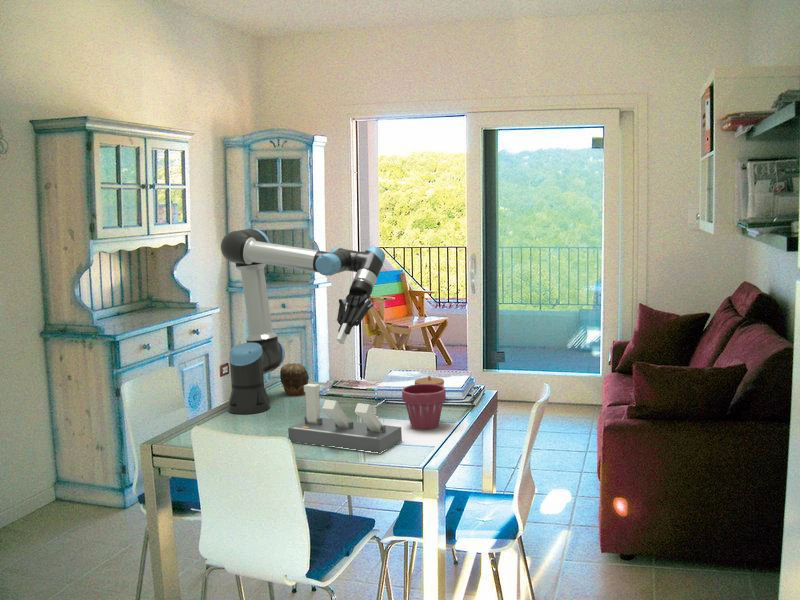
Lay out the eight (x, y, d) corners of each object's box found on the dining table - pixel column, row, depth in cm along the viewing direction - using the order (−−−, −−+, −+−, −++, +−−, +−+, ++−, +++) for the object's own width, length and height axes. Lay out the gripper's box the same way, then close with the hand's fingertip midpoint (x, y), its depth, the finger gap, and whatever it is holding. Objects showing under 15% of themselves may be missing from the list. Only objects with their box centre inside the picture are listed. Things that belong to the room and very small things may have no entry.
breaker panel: (313, 429, 285) (312, 410, 284) (401, 441, 270) (401, 420, 269) (288, 441, 273) (287, 421, 272) (380, 454, 257) (379, 432, 256)
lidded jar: (441, 396, 323) (440, 371, 322) (447, 403, 312) (446, 378, 311) (412, 398, 321) (412, 374, 320) (418, 405, 311) (417, 380, 309)
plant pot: (396, 430, 281) (395, 392, 280) (413, 418, 294) (411, 382, 292) (437, 434, 276) (436, 395, 274) (452, 422, 288) (451, 384, 287)
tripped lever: (311, 421, 278) (309, 383, 276) (321, 422, 276) (319, 384, 275) (305, 423, 276) (303, 385, 274) (316, 424, 274) (314, 386, 272)
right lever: (373, 424, 267) (357, 403, 259) (384, 425, 266) (369, 404, 257) (370, 432, 266) (354, 411, 257) (381, 434, 264) (366, 412, 255)
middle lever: (341, 420, 273) (325, 399, 264) (352, 421, 271) (336, 400, 262) (338, 428, 271) (321, 408, 262) (349, 430, 269) (333, 409, 261)
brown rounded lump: (275, 394, 335) (273, 364, 333) (296, 389, 343) (295, 359, 341) (293, 398, 327) (291, 367, 326) (315, 392, 335) (313, 362, 334)
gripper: (383, 292, 300) (361, 348, 288) (351, 291, 306) (328, 346, 294) (375, 279, 295) (352, 335, 282) (342, 278, 301) (318, 334, 288)
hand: (340, 341), depth 288 cm, fingers closed
